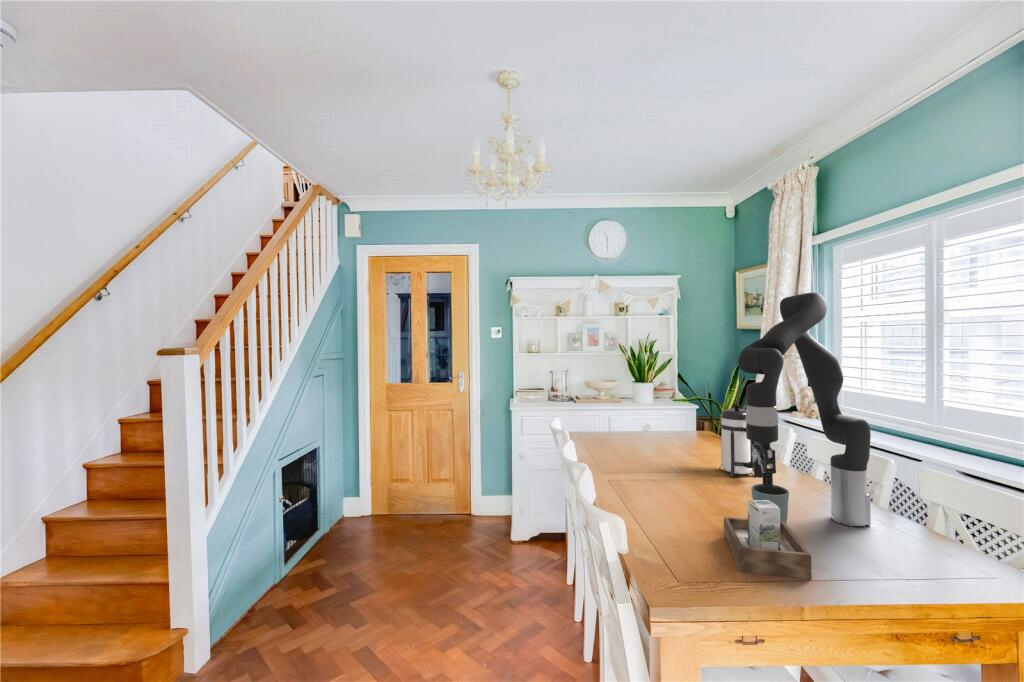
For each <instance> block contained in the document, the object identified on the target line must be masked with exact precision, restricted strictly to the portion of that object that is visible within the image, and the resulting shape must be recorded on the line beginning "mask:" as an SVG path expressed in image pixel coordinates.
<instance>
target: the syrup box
mask: <svg viewBox="0 0 1024 682" xmlns="http://www.w3.org/2000/svg"><path fill="white" fill-rule="evenodd" d="M747 519H748V546H749V548H759V549H770V550H780V508H779V507H778V506H777V505H775V504H774V503H773V502H771V501H769V500H753V499H751V500H747Z"/></svg>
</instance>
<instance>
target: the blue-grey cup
mask: <svg viewBox="0 0 1024 682" xmlns="http://www.w3.org/2000/svg"><path fill="white" fill-rule="evenodd" d="M751 496H752V497H751V498H752V500H769V501H771V502H773V503H774V504H775V505H777V506H778V507H779V508H780V521H783V522H785V523H786V524H787V525H788V523H787V521H788V511H789V497H790V491H789V489H787V488H785V487H783V486H780V485H777V484H773V487H772V488H764V487H763V483H756V484H753V485H751Z"/></svg>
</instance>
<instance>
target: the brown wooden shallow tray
mask: <svg viewBox="0 0 1024 682" xmlns="http://www.w3.org/2000/svg"><path fill="white" fill-rule="evenodd" d="M723 538H724V540H725V542H727V543H726V545H727V547H728V549H729V551H731V552H730V554H731V556H732V558H733V560H734V563H735V565H736V568H737V569H738V572H740V573H745V574H746V573H747V574H757V575H765V576H766V575H767V576H774V577H775V576H776V577H786V578H796V579H803V580H812V576H813V575H812V554H811V553H810V551H808V549H807V548H806V546H805V545H804V544H803V543H802V542H801V541H800V539H799V538H798V537H797V535H796V534H795V533H794V532H793V531H792V529H791V527H789V525H788V523H787V524H786V523H785V522H783V521H780V550H770V549H759V548H749V546H748V518H742V517H741V518H740V517H730V516H723Z"/></svg>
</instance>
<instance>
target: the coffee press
mask: <svg viewBox="0 0 1024 682" xmlns="http://www.w3.org/2000/svg"><path fill="white" fill-rule="evenodd" d="M733 407H734V408H727V409H723V410H722V411H721V413H720V415H719V416H720V419H721V422H720V428H721V433H720V434H721V435H720V437H721V439H720V440H721V465H720V467H719V468H718V470H719V471H720V470H722V471H724V470H725V471H726V472H729V473H730V475H729V477H730V478H732V477H733V479H734V478H736V477H735V476H736V474H737V475H738V474H740V475H745V474H750V475H751V476H752V477H753V478H756V477H755V476H754V473H752V472H754V464H755V463H753V462H752V460H753V459H751V441H750V440H749V439H747V437H746V409H743V408H740V407H741V406H740V404H739V403H738V402H737V403H734V404H733ZM721 468H722V469H721Z"/></svg>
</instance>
